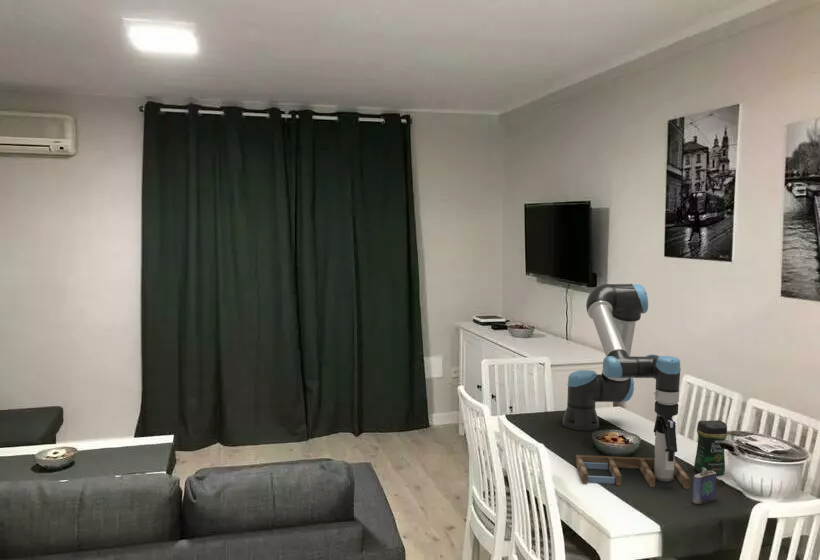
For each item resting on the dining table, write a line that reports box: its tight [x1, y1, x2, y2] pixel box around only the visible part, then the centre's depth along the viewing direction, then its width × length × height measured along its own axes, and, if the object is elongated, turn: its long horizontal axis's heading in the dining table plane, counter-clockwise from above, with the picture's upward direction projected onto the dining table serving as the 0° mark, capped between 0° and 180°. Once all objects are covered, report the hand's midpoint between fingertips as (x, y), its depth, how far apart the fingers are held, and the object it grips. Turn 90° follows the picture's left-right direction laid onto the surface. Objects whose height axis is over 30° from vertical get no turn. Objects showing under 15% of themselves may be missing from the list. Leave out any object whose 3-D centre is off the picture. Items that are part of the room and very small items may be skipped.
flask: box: [692, 467, 718, 505], centre depth 212 cm, size 9×3×11 cm, turn 117°
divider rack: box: [575, 454, 691, 490], centre depth 232 cm, size 18×34×4 cm, turn 84°
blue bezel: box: [583, 462, 616, 485], centre depth 232 cm, size 14×9×2 cm, turn 174°
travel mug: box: [653, 421, 676, 483], centre depth 229 cm, size 6×7×20 cm
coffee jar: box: [694, 419, 728, 476], centre depth 235 cm, size 10×8×19 cm
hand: (663, 462), depth 229 cm, fingers open, 13 cm apart
